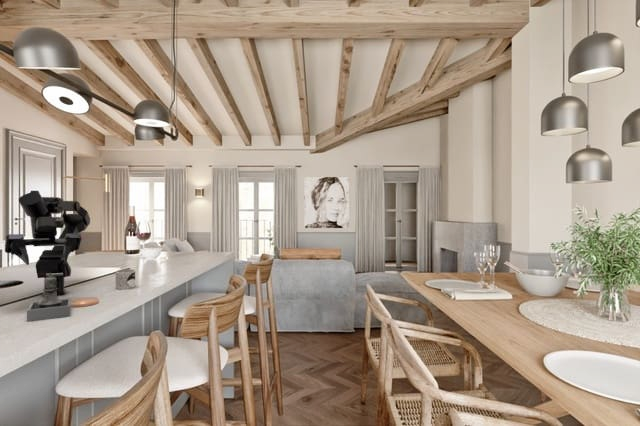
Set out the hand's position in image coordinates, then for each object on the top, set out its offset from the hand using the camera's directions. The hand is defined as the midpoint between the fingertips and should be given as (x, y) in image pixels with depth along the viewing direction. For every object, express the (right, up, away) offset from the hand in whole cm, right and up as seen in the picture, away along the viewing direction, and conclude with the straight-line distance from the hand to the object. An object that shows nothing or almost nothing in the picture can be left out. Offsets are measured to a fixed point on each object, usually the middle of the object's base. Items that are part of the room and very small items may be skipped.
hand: (47, 262), depth 109 cm
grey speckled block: (+7, -14, +32) cm, 36 cm away
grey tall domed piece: (+5, -14, -5) cm, 16 cm away
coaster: (+6, -14, +7) cm, 17 cm away
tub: (+5, -14, -5) cm, 16 cm away
